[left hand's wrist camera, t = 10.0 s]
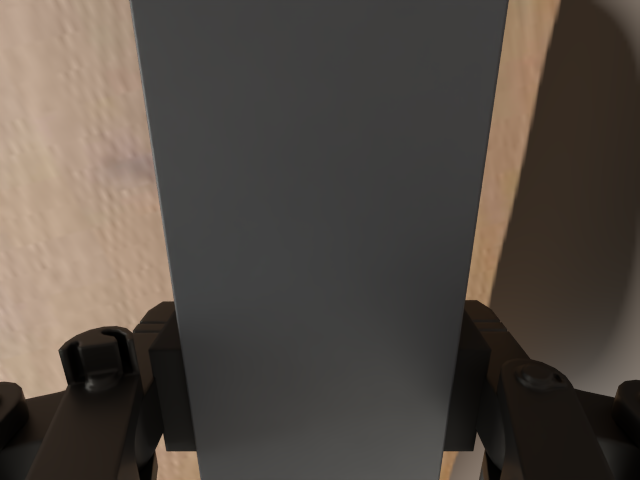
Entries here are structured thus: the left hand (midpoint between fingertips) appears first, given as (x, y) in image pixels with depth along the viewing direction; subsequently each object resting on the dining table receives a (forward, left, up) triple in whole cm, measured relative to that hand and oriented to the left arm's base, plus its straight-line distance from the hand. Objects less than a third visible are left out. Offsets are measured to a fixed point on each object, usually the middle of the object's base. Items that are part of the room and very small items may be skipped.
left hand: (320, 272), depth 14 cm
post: (+19, +4, -1) cm, 19 cm away
